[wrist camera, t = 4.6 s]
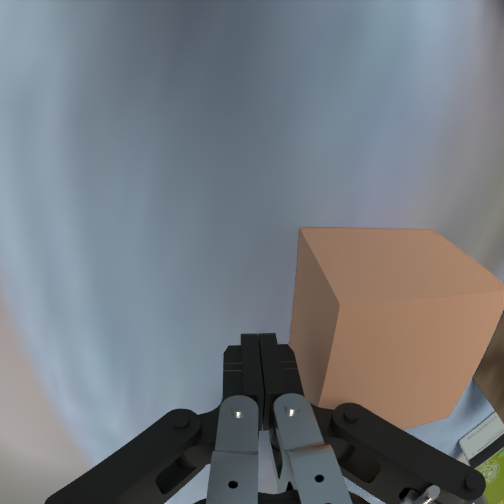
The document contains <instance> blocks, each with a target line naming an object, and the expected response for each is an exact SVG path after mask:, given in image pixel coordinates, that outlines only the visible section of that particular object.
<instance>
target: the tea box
mask: <svg viewBox="0 0 504 504" xmlns="http://www.w3.org/2000/svg"><path fill="white" fill-rule="evenodd" d="M459 441H460V442H459V444H460V446H461V448H462V451H463V453H464V455H465V457H466V459H467V461H468V463H469V465H470V467H472V468H474V469H476V470H477V471H479V472H480V473H482V475H483V476H484V478H485V481H486V488H485V491H484V493H483V496H484V498H485V500H486V503H487V504H504V424H503V422H502V421H501V419H500V418H499V416H498V414H497V413H496V411H495V412H494V413H493V414H491V415H490V416H489V417H488V418H487V419H486V420H484V421H483V422H482V423H481V424H479V425H478V426H477V427H476V428H474V429H473V430H472V431H470V432H469V433H468V434H467V435H465V436H464V437H463V438H462V439H460V440H459Z"/></svg>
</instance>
